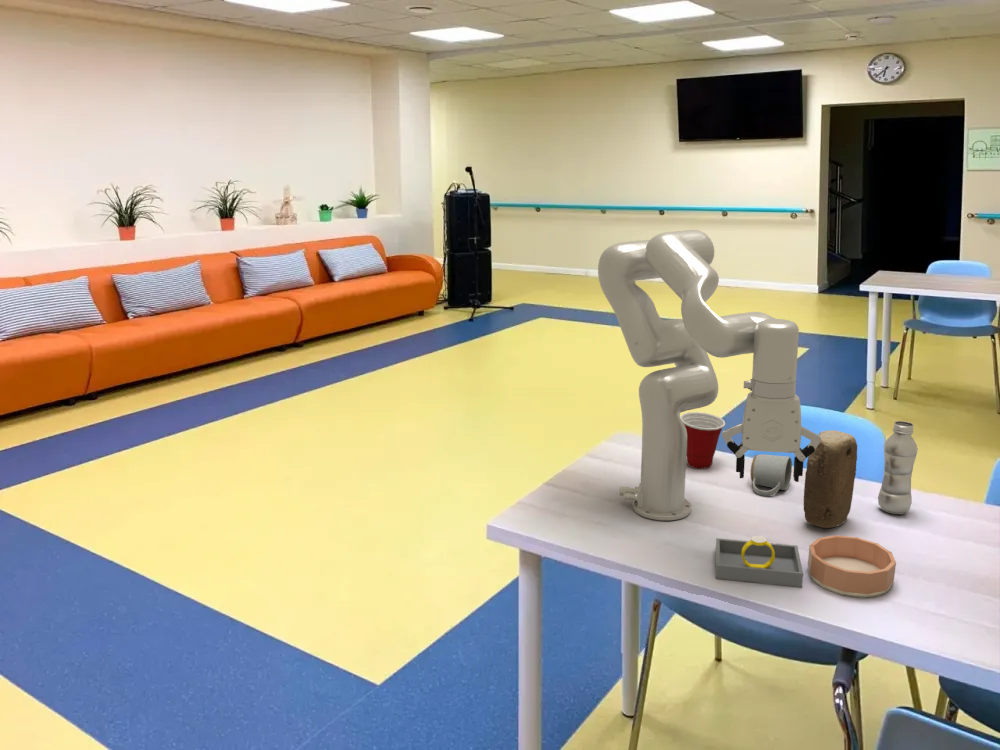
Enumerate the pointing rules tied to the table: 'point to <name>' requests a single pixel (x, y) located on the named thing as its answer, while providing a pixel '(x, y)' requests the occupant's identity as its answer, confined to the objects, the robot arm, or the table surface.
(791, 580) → the parts tray
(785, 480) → the ceramic mug
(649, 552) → the table surface
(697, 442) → the plastic cup
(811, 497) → the stone
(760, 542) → the watch
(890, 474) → the plastic bottle
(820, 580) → the bowl
